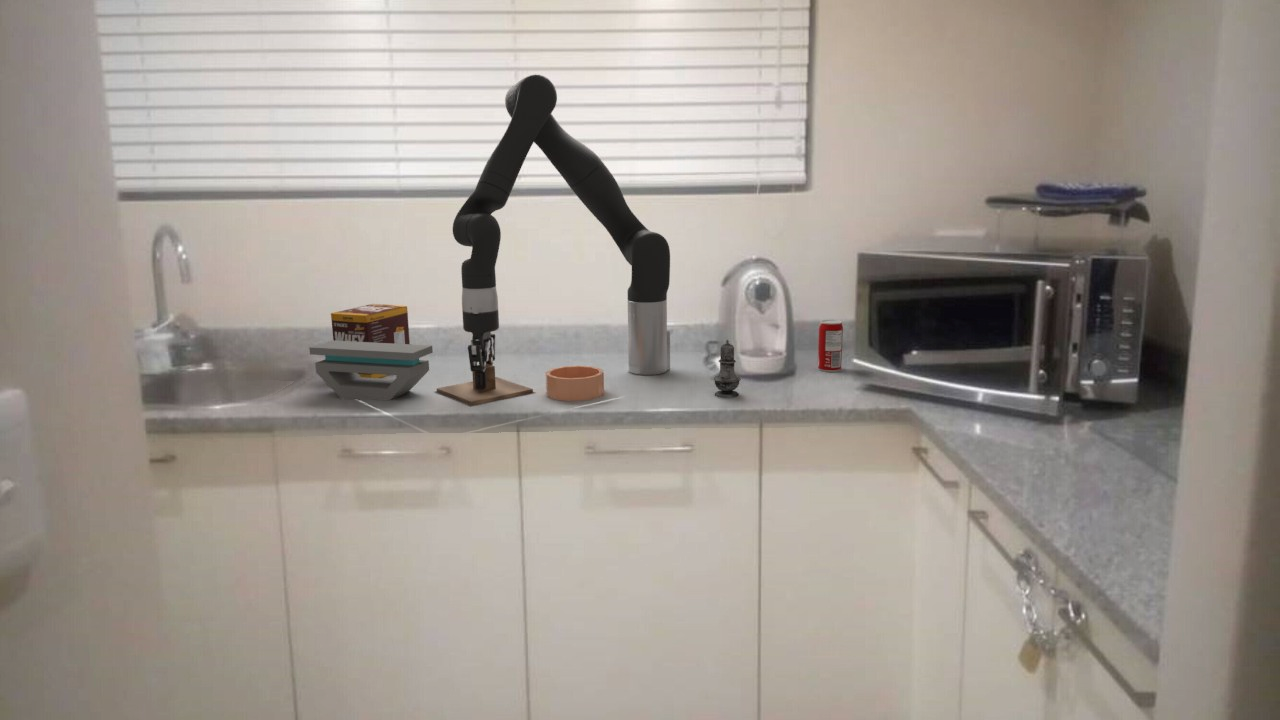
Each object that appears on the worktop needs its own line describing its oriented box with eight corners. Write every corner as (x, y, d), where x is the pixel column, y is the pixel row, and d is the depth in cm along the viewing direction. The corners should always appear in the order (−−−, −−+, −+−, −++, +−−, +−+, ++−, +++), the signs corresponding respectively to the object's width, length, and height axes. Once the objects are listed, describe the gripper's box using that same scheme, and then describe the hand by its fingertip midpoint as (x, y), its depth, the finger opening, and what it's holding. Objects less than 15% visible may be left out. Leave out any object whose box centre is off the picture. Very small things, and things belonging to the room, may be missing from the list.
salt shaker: (739, 398, 179) (740, 342, 177) (711, 397, 181) (711, 341, 178) (741, 391, 185) (742, 337, 182) (714, 390, 186) (715, 336, 184)
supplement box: (335, 378, 202) (329, 312, 198) (378, 364, 216) (373, 303, 212) (370, 381, 198) (365, 315, 195) (412, 367, 212) (407, 305, 208)
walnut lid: (496, 380, 196) (495, 355, 194) (532, 392, 185) (531, 366, 183) (436, 391, 186) (435, 365, 185) (471, 405, 175) (470, 377, 174)
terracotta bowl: (580, 385, 192) (580, 363, 191) (614, 395, 183) (614, 372, 182) (536, 394, 185) (535, 371, 184) (568, 405, 176) (568, 381, 175)
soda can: (825, 366, 208) (827, 317, 205) (845, 369, 204) (847, 319, 202) (813, 370, 204) (814, 320, 201) (833, 373, 200) (835, 323, 198)
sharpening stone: (314, 396, 185) (309, 347, 183) (336, 387, 193) (331, 340, 190) (416, 404, 178) (412, 353, 176) (435, 394, 186) (432, 345, 183)
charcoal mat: (497, 381, 196) (497, 379, 196) (536, 394, 185) (536, 392, 185) (433, 393, 186) (433, 391, 186) (470, 408, 174) (470, 406, 174)
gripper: (471, 303, 189) (476, 377, 192) (453, 313, 175) (457, 394, 178) (505, 303, 188) (508, 378, 192) (489, 313, 174) (493, 394, 178)
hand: (484, 385), depth 185 cm, fingers closed on walnut lid, 5 cm apart
